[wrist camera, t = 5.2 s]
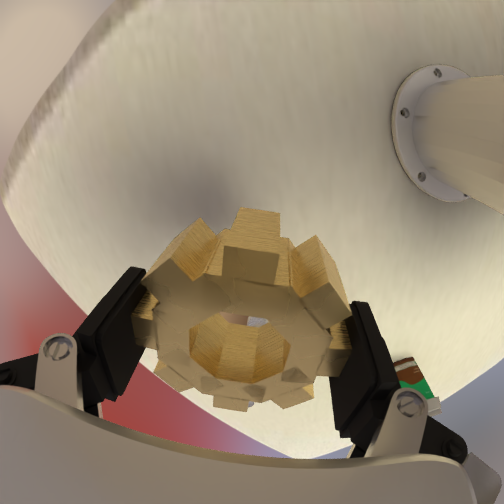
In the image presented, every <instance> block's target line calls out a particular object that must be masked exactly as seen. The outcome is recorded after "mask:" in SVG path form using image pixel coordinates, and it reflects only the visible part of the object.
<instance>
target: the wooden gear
mask: <svg viewBox="0 0 504 504" xmlns="http://www.w3.org/2000/svg"><path fill="white" fill-rule="evenodd" d="M140 282H141V283H142V284H143V285H144V287H145V288H146V289H147V292H146V293H145V295H144V296H143V297H142V299H141V300H140V302H139V304H138V305H137V307H136V308H135V310H134V311H133V313H132V314H131V319H132V325H133V331H134V336H135V341H136V345H139V346H143V347H147V348H151V349H155V350H157V353H158V359H159V361H158V363H157V365H156V368H155V370H154V373H155V374H156V375H157V376H159V377H160V378H161V379H162V380H164V381H165V382H166V383H167V384H169V385H170V386H171V387H173V388H174V389H175V390H177V391H178V392H182V391H184V390H187V389H190V388H193V387H194V388H196V389H197V390H198V391H200V392H201V393H202V394H208V395H214V400H213V407H218V408H223V409H229V410H236V411H242V412H247V409H248V404H249V401H251V402H259V403H262V402H265V401H268V400H272V401H273V402H274V403H276V404H277V405H278V406H280V407H281V408H283V409H285V408H288V407H291V406H294V405H297V404H300V403H302V402H305V401H308V400H311V399H313V398H314V391H313V383H314V380H315V378H316V376H330V377H339V375H340V373H341V371H342V369H343V368H344V366H345V364H346V362H347V360H348V358H349V356H350V354H351V352H352V347H351V343H350V339H349V335H348V331H347V327H346V324H345V320H344V319H346V318H347V317H349V316H351V315H352V313H351V309H350V306H349V303H348V300H347V297H346V294H345V290H344V287H343V284H342V281H341V278H340V275H339V272H338V269H337V267H336V264H335V262H334V260H333V259H332V257H331V256H330V254H329V253H328V251H327V250H326V248H325V247H324V246H323V244H322V243H321V241H320V240H319V238H318V237H317V236H316V235H315V236H313V237H312V238H310V239H308V240H307V241H305V242H304V243H302V244H301V245H299V246H297V247H296V248H295V246H294V245H293V244H292V242H291V241H290V239H289V238H283V237H280V213H276V212H269V211H263V210H256V209H249V208H242V207H240V209H239V212H238V214H237V216H236V219H235V221H234V223H233V225H232V228H231V230H230V229H224V230H223V231H222V232H220V233H219V234H218V235H215V234H214V233H213V232H212V231H211V229H210V228H209V227H208V226H207V225H206V224H205V222H204V221H203V220H202V219H201V218H199V219H198V220H196V221H195V222H194V223H193V224H191V225H190V226H189V227H188V228H186V229H185V230H184V231H183V232H181V233H180V234H179V235H178V236H177V237H175V238H174V239H173V241H172V242H171V243H170V244H169V246H168V247H167V248H166V249H165V251H164V252H163V253H162V254H161V256H160V257H159V258H158V259H157V261H156V262H155V263H154V264H153V266H152V267H151V268H150V270H149V271H148V272H147V273H146V275H145V276H144V277H143V279H142V280H141V281H140ZM218 312H226V313H232V314H238V315H244V316H251V317H257V318H264V319H267V320H268V323H266V324H264V325H262V326H260V327H252V326H245V325H239V324H233V323H228V322H227V321H226V320H225V319H224V318H223V317H222V316H221V315H220V314H219V313H218Z"/></svg>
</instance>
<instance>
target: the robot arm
mask: <svg viewBox="0 0 504 504" xmlns="http://www.w3.org/2000/svg"><path fill="white" fill-rule="evenodd" d="M400 111H402V112H403V115H402V116H401V113H400ZM391 128H392V135H393V142H394V146H395V149H396V153H397V156H398V158H399V160H400V163H401V165H402V167H403V169H404V170H405V172H406V173H407V175H408V176H409V178H410V179H411V180H412V181H413V182H414V183H415V185H416V186H417V187H418V188H420V189H421V190H422V191H424V192H425V193H427V194H428V195H430V196H432V197H434V198H436V199H438V200H442V201H445V202H460V201H465V200H467V199H469V198H471V197H472V198H474V199H476V200H478V201H480V202H482V203H483V204H485V205H487V206H489V207H491V208H492V209H494V210H496V211H498V212H499V213H501V214H503V215H504V75H495V76H482V77H470V76H469V75H467V74H466V73H464V72H463V71H461V70H459V69H457V68H455V67H452V66H448V65H442V64H439V65H430V66H426V67H422V68H420V69H418V70H416V71H414V72H413V73H412V74H411V75H409V76H408V77H407V78H406V79H405V80H404V82H403V83H402V85H401V86H400V88H399V90H398V92H397V95H396V97H395V100H394V105H393V110H392V126H391ZM418 174H419V177H418ZM145 275H146V271H145V269H143V268H137V267H130V268H129V269H128V270H127V271H126V272H125V273H124V274H123V275H122V277H121V278H120V279H119V280H118V281H117V282H116V284H115V285H114V286H113V287H112V288H111V289H110V291H109V292H108V293H107V294H106V295H105V296H104V297H103V298H102V299H101V301H100V302H99V303H98V304H97V306H96V307H95V308H94V309H93V310H92V312H91V313H90V314H89V315H88V317H87V318H86V319H85V320H84V322H83V323H82V324H81V326H80V327H79V328H78V329H77V331H76V332H75V333H74V335H73V336H70V335H68V334H65V333H57V334H53V335H51V336H49V337H47V338H46V339H45V340H44V341H43V342H42V344H41V346H40V349H39V353H38V354H34V355H31V356H27V357H23V358H20V359H16V360H12V361H8V362H5V363H2V364H0V504H494V502H495V500H496V498H497V496H498V494H499V492H500V489H501V486H502V484H501V478H500V476H499V474H497V472H496V471H494V470H493V469H492V468H490V467H489V466H488V465H487V464H485V463H484V462H483V461H482V460H481V459H479V458H478V457H477V456H476V455H474V454H473V453H472V452H471V453H470V454H467V453H468V452H467V445H466V443H465V441H464V439H463V438H462V437H460V436H459V435H457V434H456V433H455V432H453V431H451V430H450V429H448V428H447V427H445V426H444V425H442V424H441V423H439V422H438V421H436V420H434V419H433V418H432V417H430V416H429V415H427V414H428V403H427V400H426V399H425V397H424V396H423V395H422V394H421V393H420V392H419V391H417V390H415V389H412V388H401V385H400V382H399V379H398V376H397V373H396V371H395V368H394V365H393V362H392V359H391V357H390V354H389V351H388V348H387V346H386V343H385V341H384V339H383V338H382V337H381V334H380V331H379V329H378V326H377V324H376V321H375V319H374V316H373V314H372V311H371V309H370V306H369V304H368V303H367V302H360V301H353V302H352V303H351V304H349V306H350V309H351V313H352V315H351V316H349V317H347V318H346V319H344V320H345V324H346V327H347V331H348V335H349V339H350V343H351V347H352V352H351V354H350V356H349V358H348V360H347V362H346V364H345V366H344V368H343V369H342V371H341V373H340V375H339V377H330V376H329V381H330V389H331V397H332V405H333V413H334V422H335V429H336V430H339V432H340V438H351V442H352V443H353V445H352V447H351V450H350V451H349V453H348V455H347V457H346V458H344V459H291V458H274V457H262V456H253V455H244V454H236V453H229V452H223V451H217V450H211V449H205V448H200V447H196V446H191V445H187V444H182V443H177V442H174V441H170V440H166V439H162V438H158V437H155V436H151V435H148V434H145V433H141V432H138V431H135V430H132V429H129V428H126V427H123V426H120V425H117V424H115V423H112V422H109V421H106V420H104V419H103V417H102V409H101V402H103V401H104V399H105V398H106V399H108V400H111V401H114V402H115V401H116V399H117V397H118V395H120V396H121V395H122V394H123V393H124V391H125V389H126V387H127V385H128V383H129V381H130V378H131V376H132V374H133V372H134V370H135V368H136V366H137V364H138V362H139V360H140V358H141V356H142V354H143V352H144V350H145V348H146V347H143V346H139V345H136V341H135V336H134V331H133V325H132V319H131V314H132V313H133V311H134V310H135V308H136V307H137V305H138V304H139V302H140V300H141V299H142V297H143V296H144V295H145V293H146V292H147V289H146V288H145V287H144V285H143V284H142V283H141V282H140V281H141V280H142V279H143V277H144V276H145Z"/></svg>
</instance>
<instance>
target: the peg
mask: <svg viewBox="0 0 504 504" xmlns="http://www.w3.org/2000/svg"><path fill="white" fill-rule="evenodd" d="M266 323H268V320H267V319H264V318H257V317H251V316H248V321H247V326H252V327H260V326H262V325H264V324H266Z"/></svg>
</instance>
